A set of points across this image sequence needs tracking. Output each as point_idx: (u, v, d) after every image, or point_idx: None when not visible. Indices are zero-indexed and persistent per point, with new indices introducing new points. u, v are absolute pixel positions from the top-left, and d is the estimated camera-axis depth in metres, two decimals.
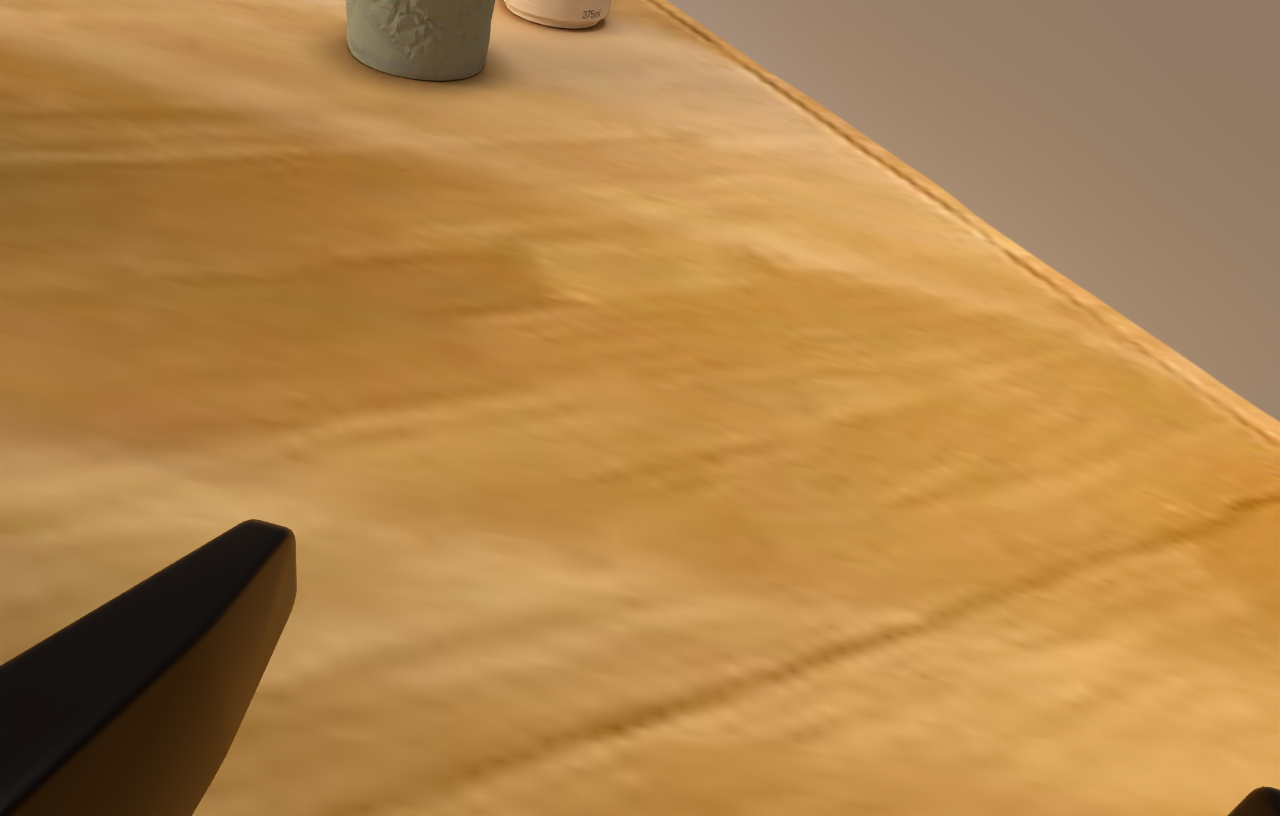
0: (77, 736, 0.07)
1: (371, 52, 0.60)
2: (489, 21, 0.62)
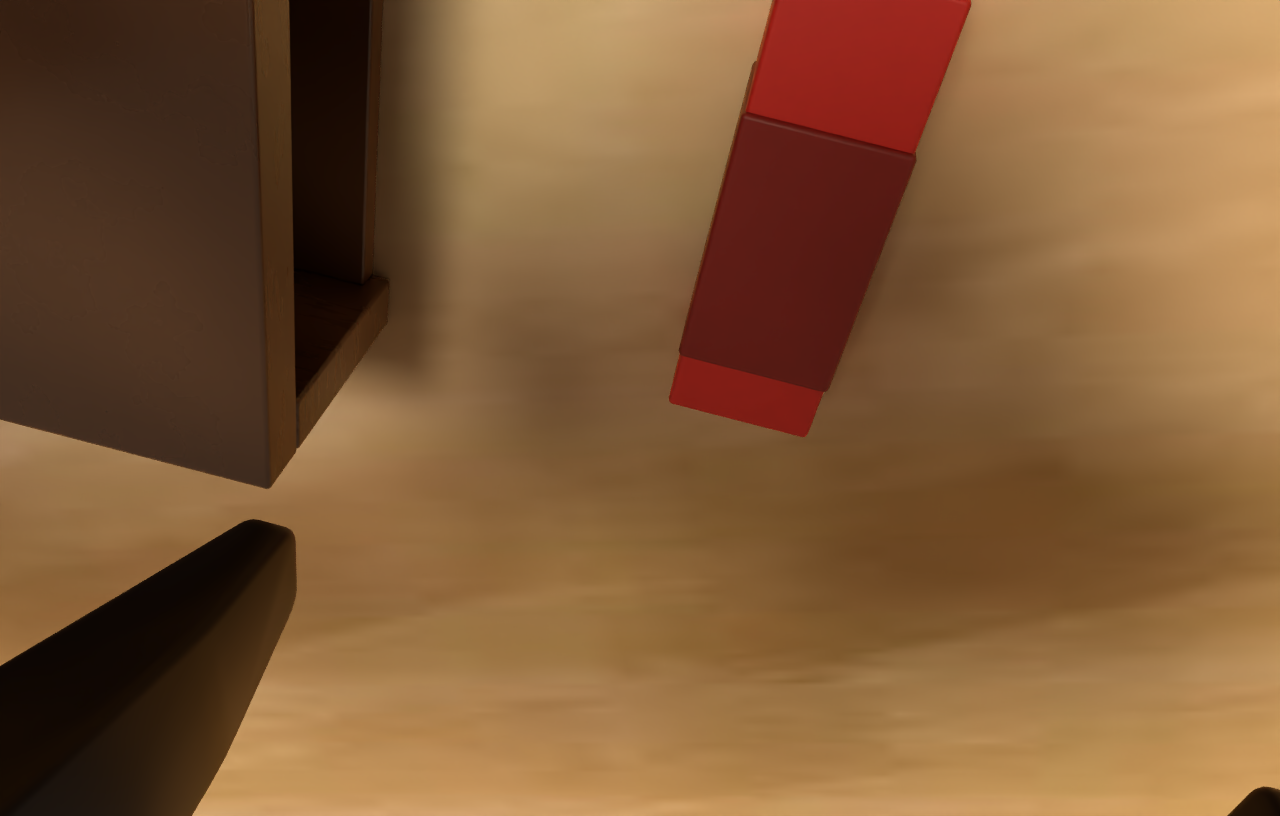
0: (77, 736, 0.07)
1: None
2: None
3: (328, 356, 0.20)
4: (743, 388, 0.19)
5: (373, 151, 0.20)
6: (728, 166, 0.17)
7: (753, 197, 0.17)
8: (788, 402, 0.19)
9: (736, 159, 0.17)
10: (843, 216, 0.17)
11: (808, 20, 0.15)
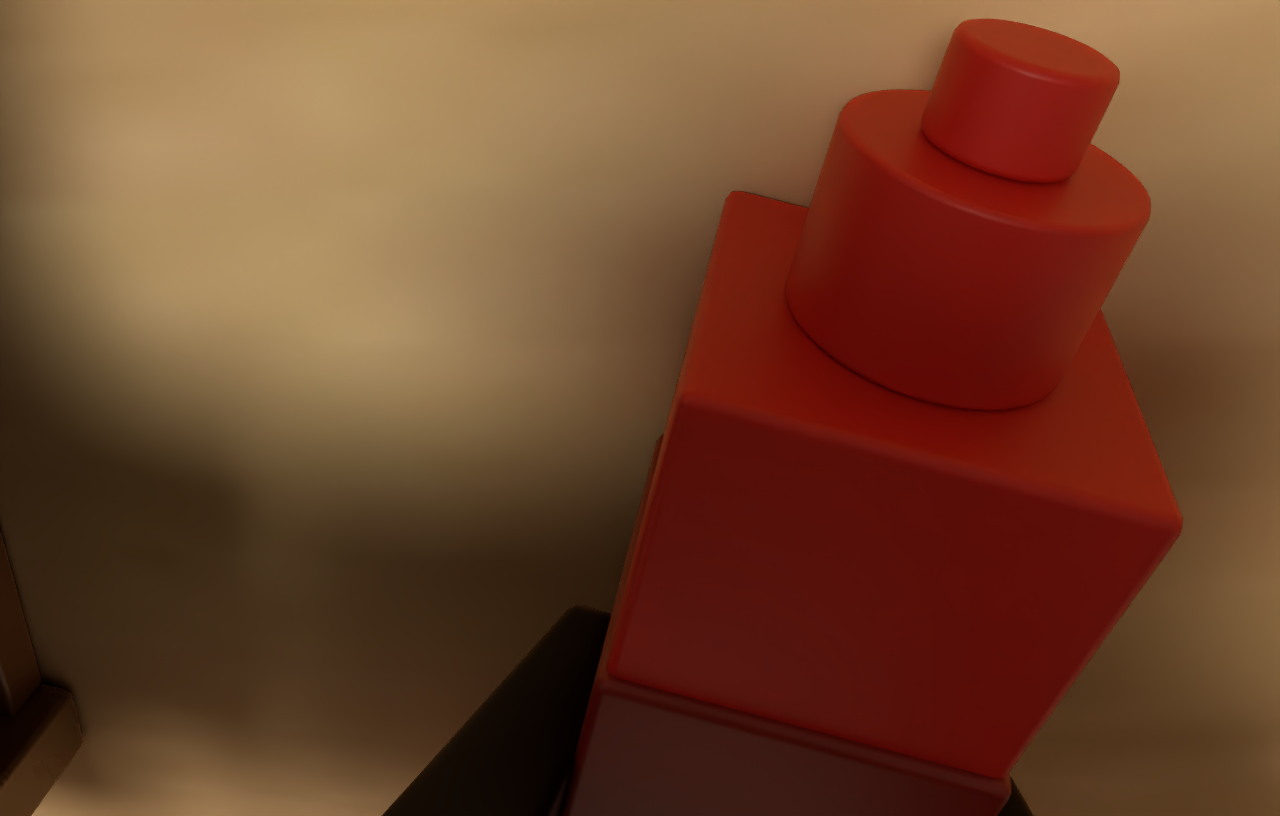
0: None
1: None
2: None
3: None
4: None
5: None
6: (576, 758, 0.07)
7: (635, 813, 0.08)
8: None
9: (589, 753, 0.07)
10: None
11: (743, 532, 0.06)
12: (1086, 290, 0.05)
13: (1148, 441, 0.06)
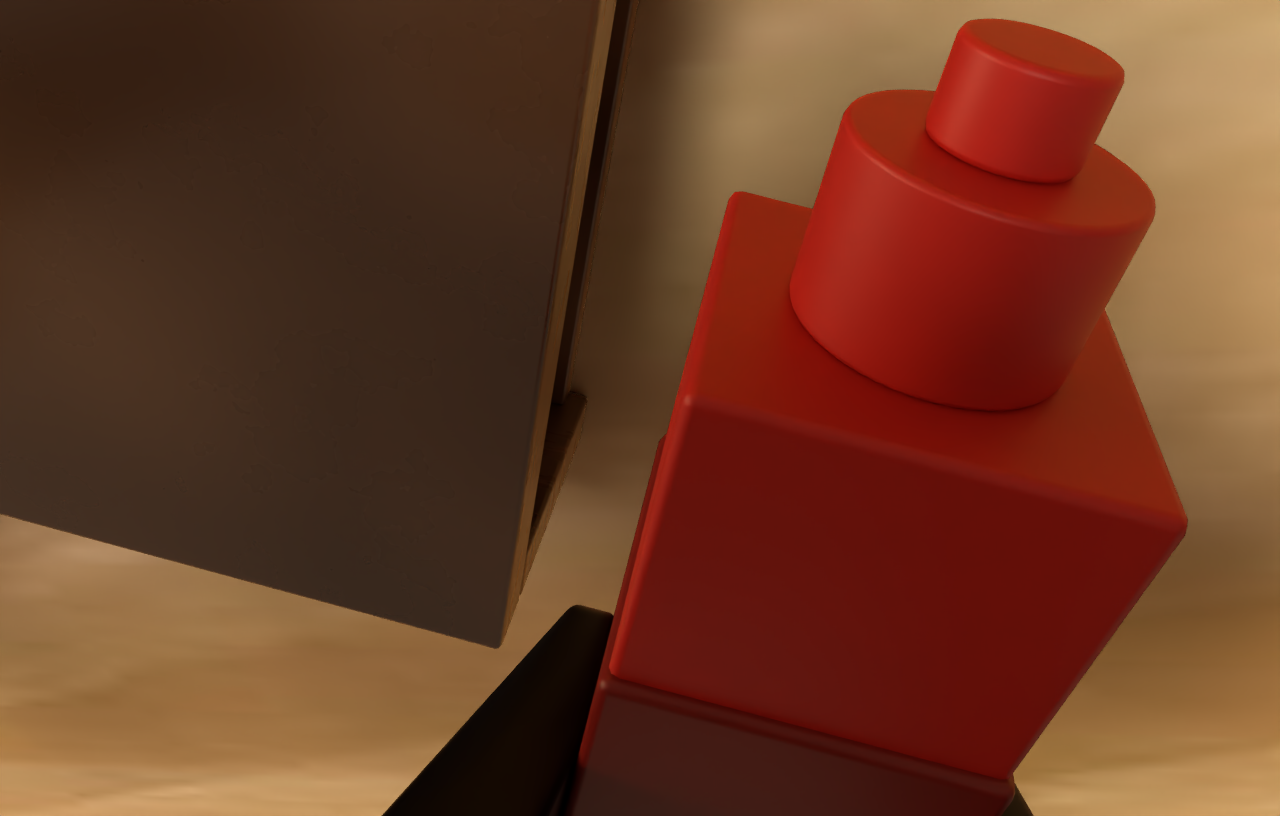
0: None
1: None
2: None
3: (545, 494, 0.19)
4: None
5: (589, 272, 0.19)
6: (579, 759, 0.07)
7: (638, 813, 0.08)
8: None
9: (593, 754, 0.07)
10: None
11: (748, 532, 0.06)
12: (1093, 291, 0.05)
13: (1152, 443, 0.06)
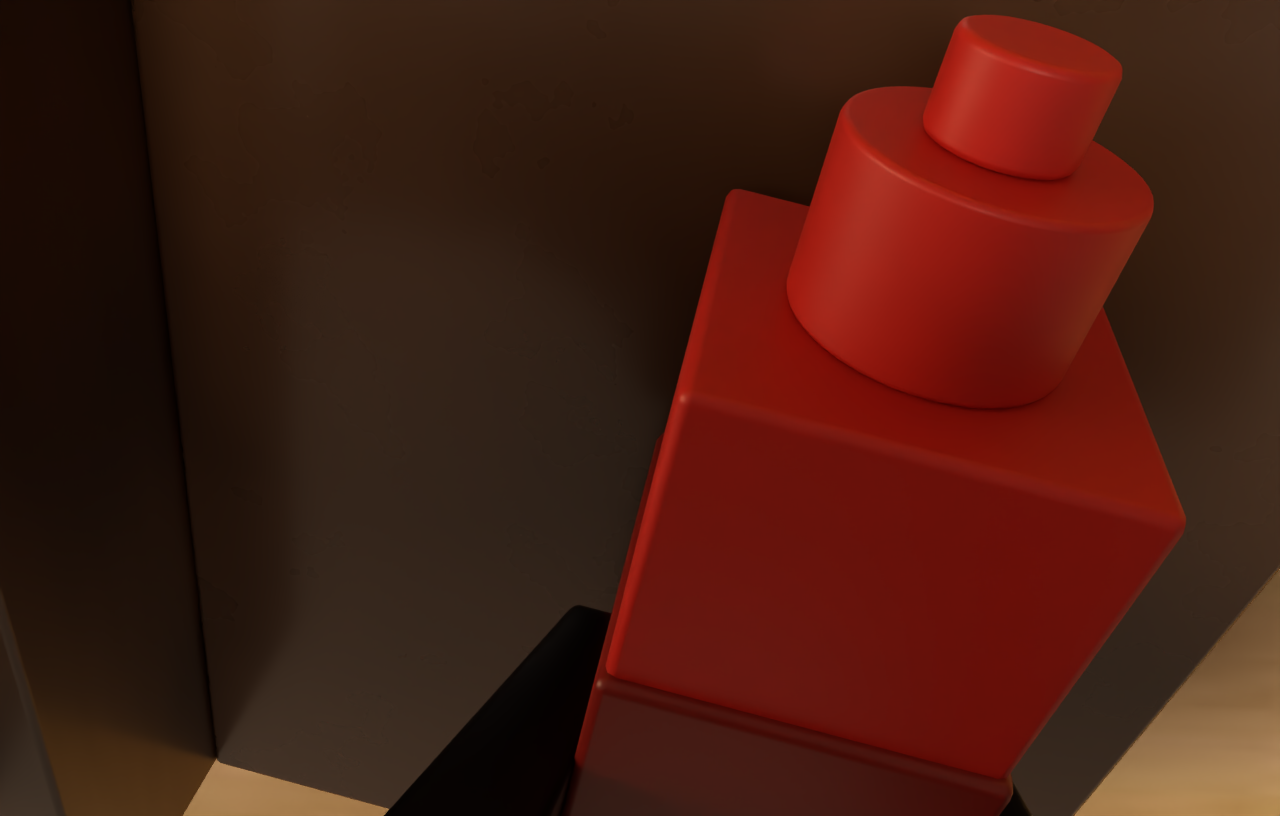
0: None
1: None
2: None
3: None
4: None
5: None
6: (576, 759, 0.07)
7: (637, 814, 0.07)
8: None
9: (589, 755, 0.07)
10: None
11: (744, 531, 0.06)
12: (1089, 289, 0.05)
13: (1151, 439, 0.06)
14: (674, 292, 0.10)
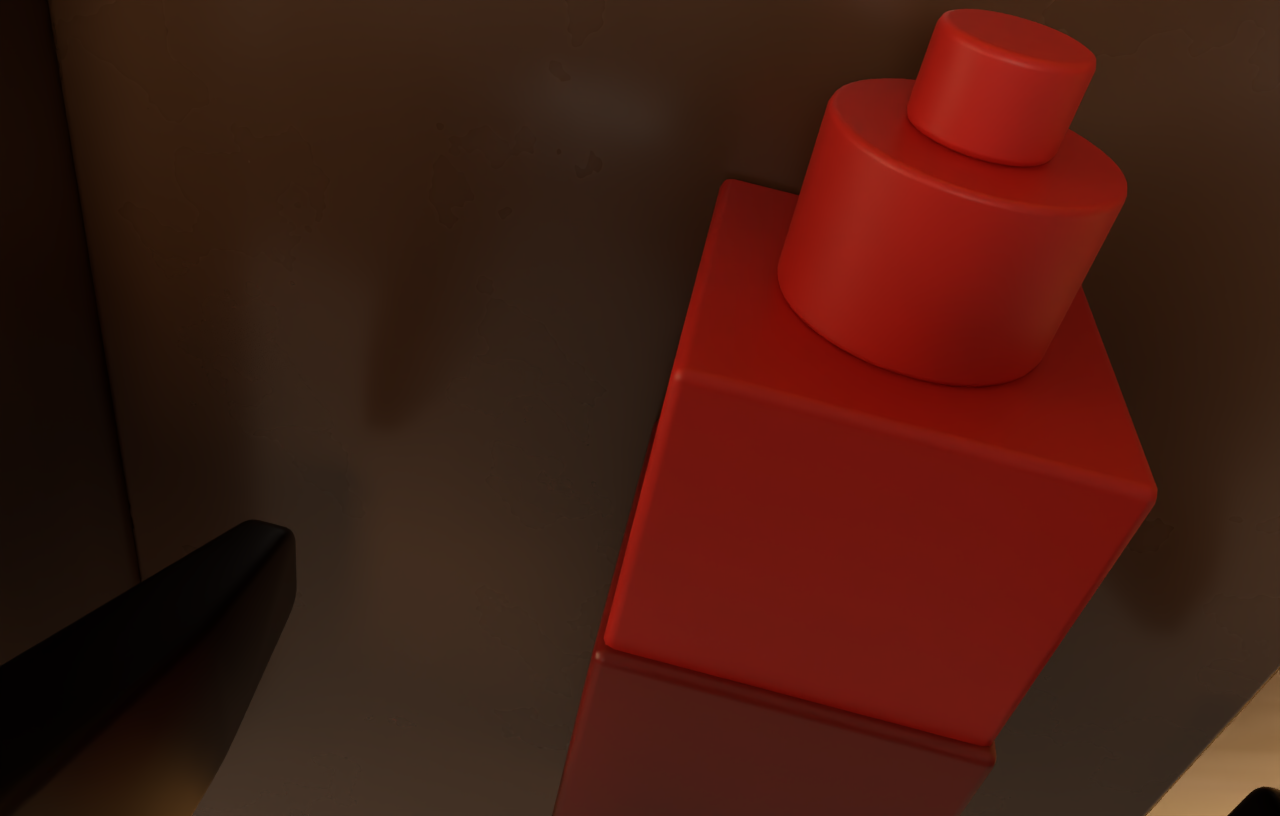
0: (76, 736, 0.07)
1: None
2: None
3: None
4: None
5: None
6: (575, 730, 0.08)
7: (633, 785, 0.08)
8: None
9: (588, 724, 0.07)
10: None
11: (736, 502, 0.06)
12: (1063, 271, 0.06)
13: (1127, 417, 0.06)
14: (649, 350, 0.09)
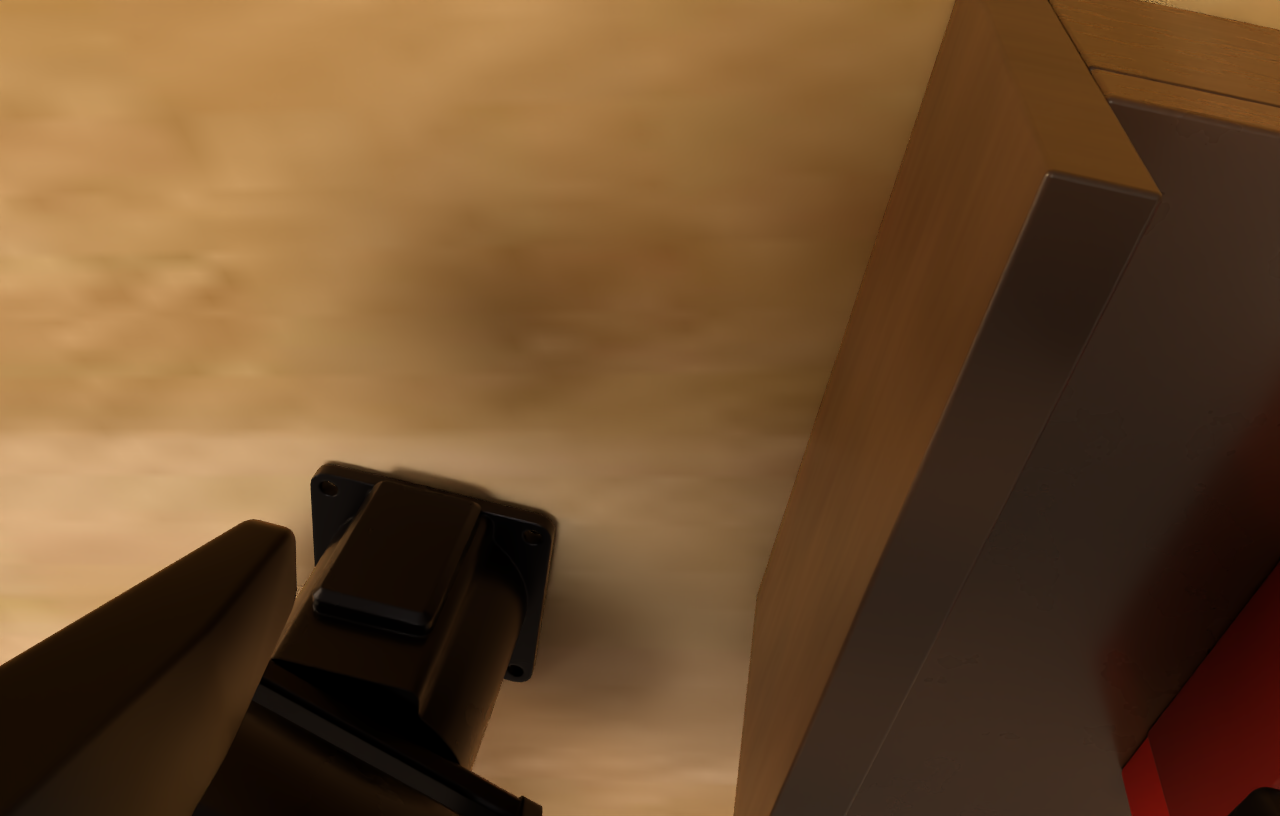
0: (77, 736, 0.07)
1: None
2: None
3: None
4: None
5: None
6: None
7: None
8: None
9: None
10: None
11: None
12: None
13: None
14: None
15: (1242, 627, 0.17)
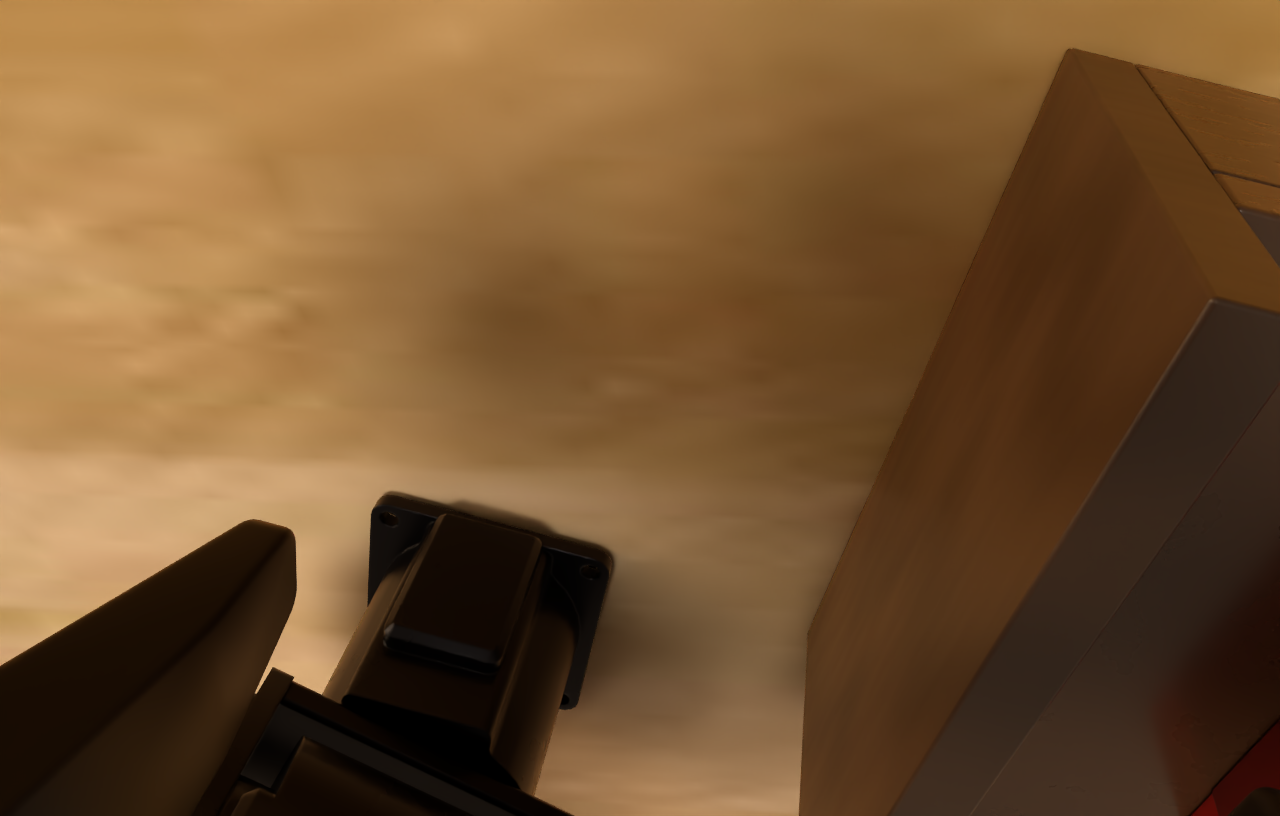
0: (77, 736, 0.07)
1: None
2: None
3: None
4: None
5: None
6: None
7: None
8: None
9: None
10: None
11: None
12: None
13: None
14: None
15: None
